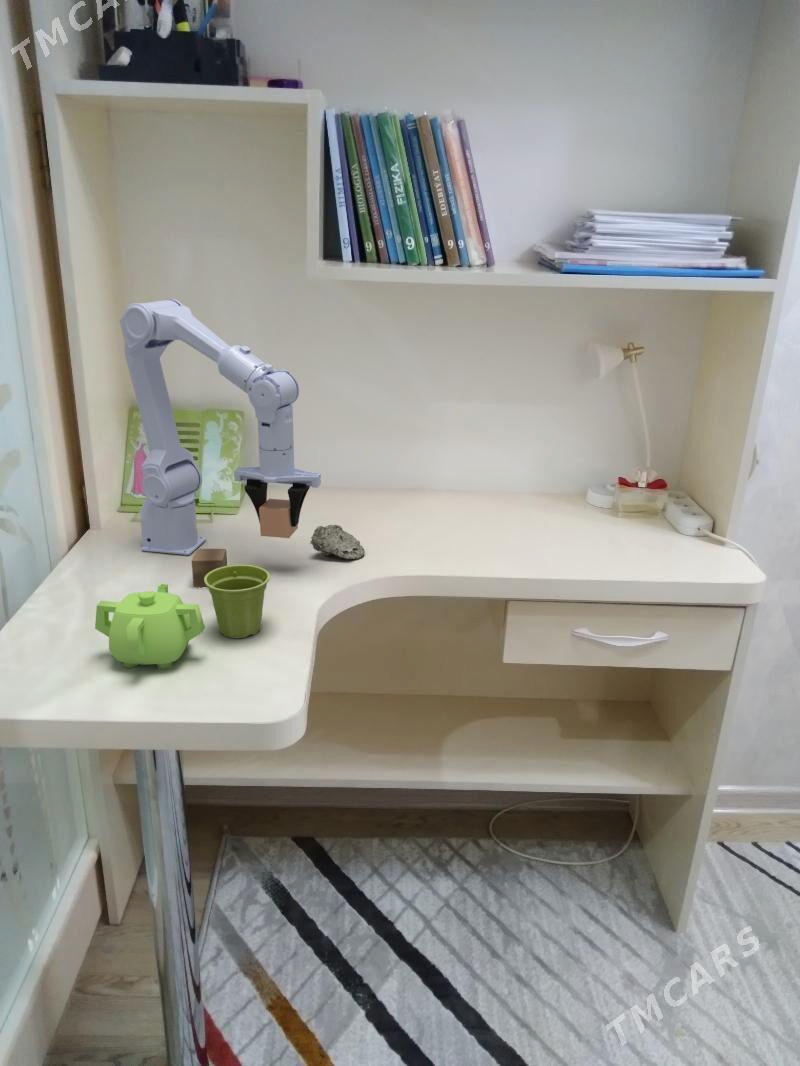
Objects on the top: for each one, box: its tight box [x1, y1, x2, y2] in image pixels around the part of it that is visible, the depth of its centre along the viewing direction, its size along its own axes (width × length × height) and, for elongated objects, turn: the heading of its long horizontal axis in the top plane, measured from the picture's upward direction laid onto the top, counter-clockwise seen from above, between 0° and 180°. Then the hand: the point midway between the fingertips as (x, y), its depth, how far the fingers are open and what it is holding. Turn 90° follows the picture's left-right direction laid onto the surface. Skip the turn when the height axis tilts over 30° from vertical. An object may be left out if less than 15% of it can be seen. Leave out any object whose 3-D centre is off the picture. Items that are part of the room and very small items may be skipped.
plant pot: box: [204, 564, 271, 639], centre depth 122 cm, size 9×9×9 cm
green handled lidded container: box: [94, 583, 206, 670], centre depth 114 cm, size 12×12×10 cm
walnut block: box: [191, 548, 228, 589], centre depth 138 cm, size 5×5×5 cm
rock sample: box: [309, 524, 366, 560], centre depth 150 cm, size 10×8×9 cm
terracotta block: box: [259, 498, 299, 539], centre depth 140 cm, size 5×5×5 cm
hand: (279, 523), depth 141 cm, fingers closed on terracotta block, 5 cm apart
